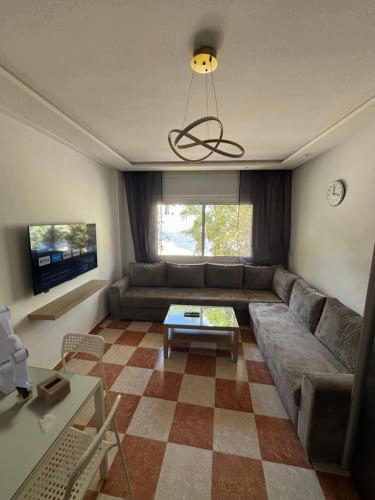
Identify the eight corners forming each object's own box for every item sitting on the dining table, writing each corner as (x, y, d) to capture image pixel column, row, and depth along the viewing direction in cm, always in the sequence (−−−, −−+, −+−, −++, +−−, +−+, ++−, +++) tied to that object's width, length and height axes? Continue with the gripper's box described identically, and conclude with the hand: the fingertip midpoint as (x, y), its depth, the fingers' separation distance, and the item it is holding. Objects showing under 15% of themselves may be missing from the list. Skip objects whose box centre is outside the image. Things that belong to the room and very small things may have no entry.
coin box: (37, 395, 115) (36, 385, 114) (57, 382, 123) (56, 373, 122) (51, 405, 109) (50, 394, 108) (70, 391, 118) (69, 381, 116)
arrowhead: (57, 408, 105) (55, 429, 97) (57, 411, 106) (56, 432, 97) (40, 414, 102) (37, 436, 94) (40, 418, 103) (37, 439, 94)
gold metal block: (16, 402, 110) (15, 395, 110) (30, 394, 116) (29, 387, 115) (19, 405, 109) (18, 397, 108) (32, 396, 114) (31, 389, 114)
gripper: (4, 372, 110) (8, 396, 112) (19, 383, 103) (23, 409, 105) (20, 363, 116) (23, 386, 118) (35, 373, 109) (38, 398, 111)
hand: (24, 396), depth 112 cm, fingers closed on gold metal block, 2 cm apart
